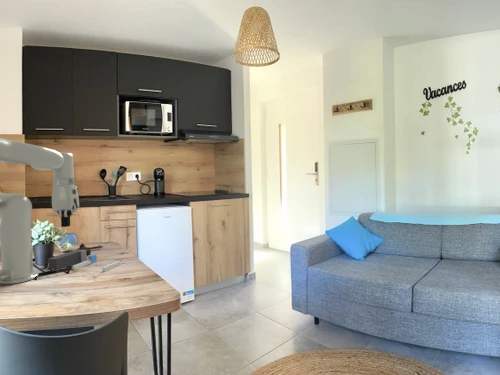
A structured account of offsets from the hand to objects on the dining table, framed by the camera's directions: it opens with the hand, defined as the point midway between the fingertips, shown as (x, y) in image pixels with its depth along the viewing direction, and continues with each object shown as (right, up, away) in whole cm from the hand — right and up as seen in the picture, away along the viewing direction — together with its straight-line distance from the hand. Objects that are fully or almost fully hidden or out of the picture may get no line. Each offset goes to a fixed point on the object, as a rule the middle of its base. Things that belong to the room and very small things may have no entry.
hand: (65, 226), depth 144 cm
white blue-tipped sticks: (+7, -16, +1) cm, 18 cm away
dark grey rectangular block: (+1, -17, +1) cm, 17 cm away
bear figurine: (-4, -16, +24) cm, 29 cm away
